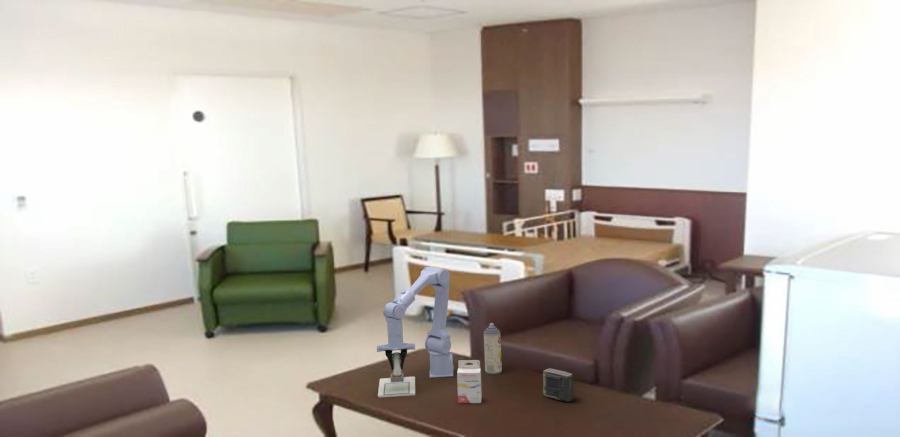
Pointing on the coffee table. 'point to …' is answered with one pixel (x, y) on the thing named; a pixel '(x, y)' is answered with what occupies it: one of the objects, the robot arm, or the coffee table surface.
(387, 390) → the activity board
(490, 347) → the aerosol can
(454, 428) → the coffee table surface
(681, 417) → the coffee table surface
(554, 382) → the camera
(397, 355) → the marker
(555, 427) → the coffee table surface
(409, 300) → the robot arm
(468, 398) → the ink cartridge box
